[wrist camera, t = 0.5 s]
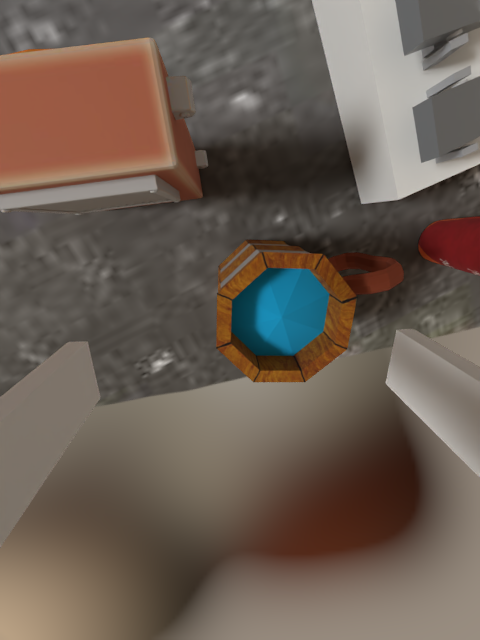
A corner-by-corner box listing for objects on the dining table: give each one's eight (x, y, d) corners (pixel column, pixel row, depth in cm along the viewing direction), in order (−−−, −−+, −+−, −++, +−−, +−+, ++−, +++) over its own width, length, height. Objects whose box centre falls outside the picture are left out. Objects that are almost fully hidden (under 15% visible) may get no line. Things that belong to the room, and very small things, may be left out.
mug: (234, 341, 41) (241, 404, 27) (199, 257, 37) (186, 280, 23) (358, 297, 40) (431, 338, 26) (338, 204, 36) (414, 193, 22)
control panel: (78, 156, 32) (205, 140, 32) (96, 219, 34) (214, 204, 35) (-164, 50, 12) (178, 9, 12) (-78, 219, 14) (204, 182, 15)
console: (297, -59, 27) (346, -236, 16) (398, -113, 26) (517, -337, 16) (361, 204, 36) (419, 197, 25) (437, 169, 35) (530, 148, 24)
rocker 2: (411, 104, 22) (434, 91, 21) (483, 73, 24) (510, 59, 23) (421, 165, 24) (443, 158, 22) (488, 131, 26) (513, 122, 24)
